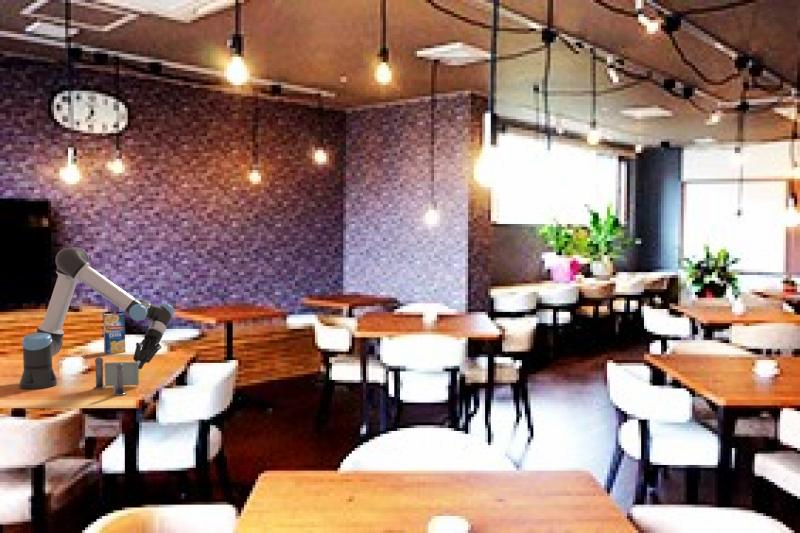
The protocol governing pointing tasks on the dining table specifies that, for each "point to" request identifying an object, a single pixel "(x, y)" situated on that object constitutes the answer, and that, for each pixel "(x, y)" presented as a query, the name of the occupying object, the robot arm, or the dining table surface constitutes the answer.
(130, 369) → the gate
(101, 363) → the hinge post
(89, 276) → the robot arm
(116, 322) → the blue cracker box
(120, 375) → the latch post
